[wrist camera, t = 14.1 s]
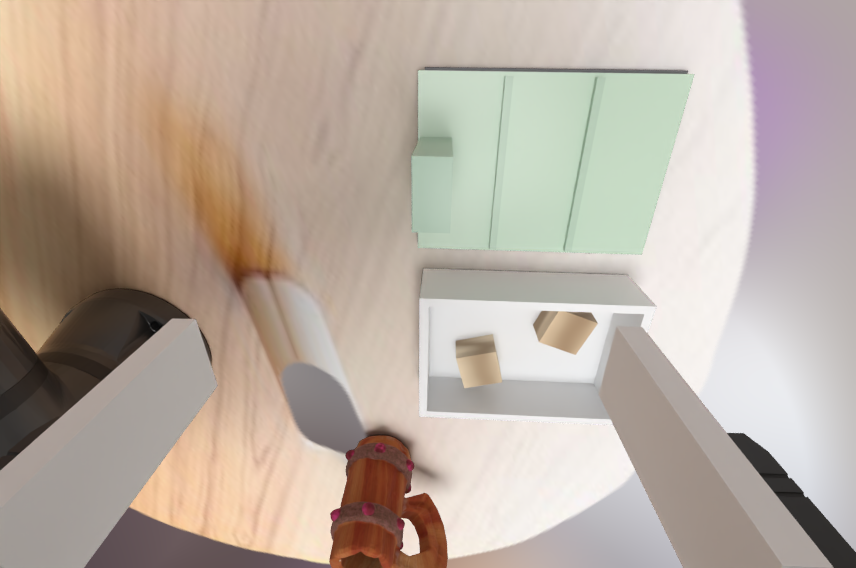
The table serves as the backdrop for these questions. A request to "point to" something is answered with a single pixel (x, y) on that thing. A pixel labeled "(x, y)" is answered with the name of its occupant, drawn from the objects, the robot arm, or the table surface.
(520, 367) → the tub
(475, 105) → the lid
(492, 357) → the part
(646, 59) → the table surface
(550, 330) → the part
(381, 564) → the mug
